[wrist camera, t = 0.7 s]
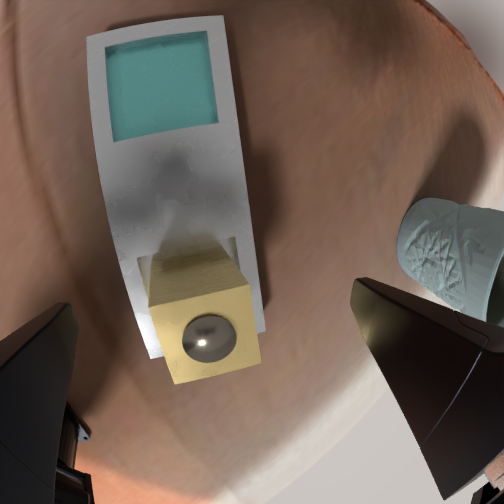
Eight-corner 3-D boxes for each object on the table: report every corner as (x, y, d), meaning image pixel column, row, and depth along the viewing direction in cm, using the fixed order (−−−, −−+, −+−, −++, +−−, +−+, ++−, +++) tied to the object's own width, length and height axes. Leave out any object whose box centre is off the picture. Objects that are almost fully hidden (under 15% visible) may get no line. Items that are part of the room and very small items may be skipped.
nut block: (232, 308, 23) (262, 364, 16) (168, 323, 22) (175, 386, 15) (221, 245, 21) (250, 285, 15) (151, 260, 20) (148, 309, 13)
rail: (257, 318, 25) (265, 331, 23) (150, 344, 23) (150, 358, 21) (217, 26, 17) (223, 15, 15) (92, 46, 15) (86, 36, 13)
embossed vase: (459, 212, 29) (544, 239, 18) (429, 293, 31) (507, 339, 20) (410, 175, 25) (519, 196, 14) (373, 274, 27) (470, 333, 16)
